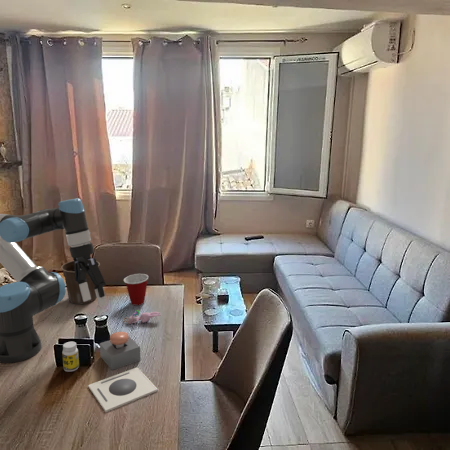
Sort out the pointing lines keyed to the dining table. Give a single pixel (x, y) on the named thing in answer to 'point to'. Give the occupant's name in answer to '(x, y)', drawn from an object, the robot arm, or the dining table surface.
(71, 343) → the supplement bottle
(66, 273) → the plant pot
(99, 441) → the dining table surface
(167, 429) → the dining table surface
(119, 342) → the button
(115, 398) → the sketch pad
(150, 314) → the pink unicorn toy
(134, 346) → the button housing
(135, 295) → the plastic cup
